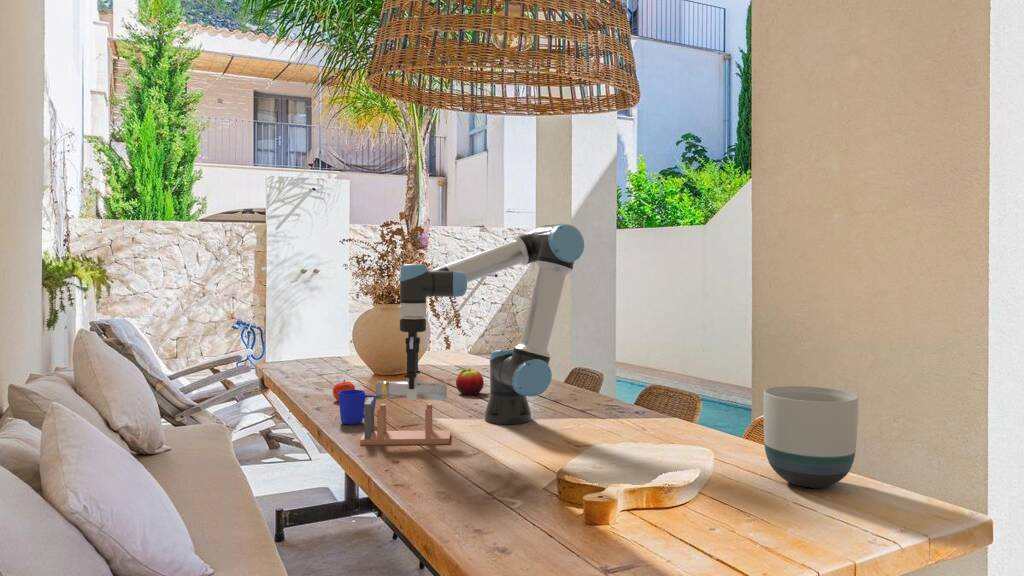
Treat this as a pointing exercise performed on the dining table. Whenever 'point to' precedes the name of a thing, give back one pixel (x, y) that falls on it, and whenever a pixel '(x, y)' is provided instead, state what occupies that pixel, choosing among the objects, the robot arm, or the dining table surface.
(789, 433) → the planter
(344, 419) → the mug
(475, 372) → the fruit
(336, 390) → the apple
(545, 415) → the dining table surface
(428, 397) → the tube
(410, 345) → the robot arm
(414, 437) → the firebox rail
